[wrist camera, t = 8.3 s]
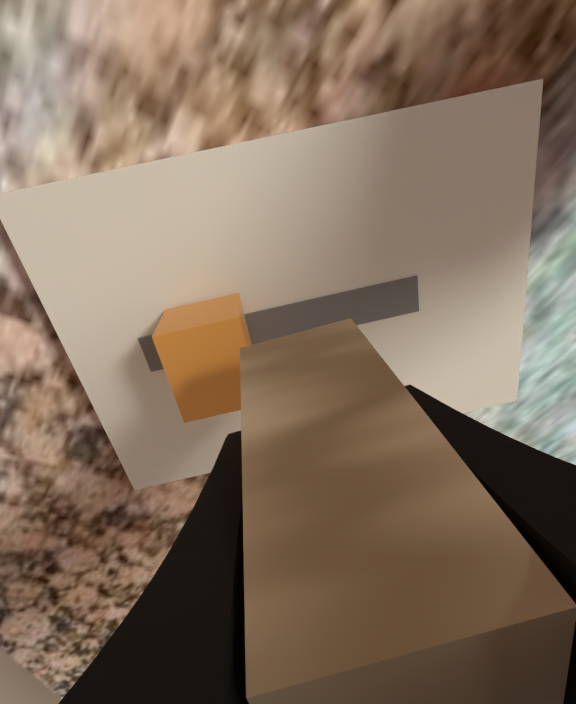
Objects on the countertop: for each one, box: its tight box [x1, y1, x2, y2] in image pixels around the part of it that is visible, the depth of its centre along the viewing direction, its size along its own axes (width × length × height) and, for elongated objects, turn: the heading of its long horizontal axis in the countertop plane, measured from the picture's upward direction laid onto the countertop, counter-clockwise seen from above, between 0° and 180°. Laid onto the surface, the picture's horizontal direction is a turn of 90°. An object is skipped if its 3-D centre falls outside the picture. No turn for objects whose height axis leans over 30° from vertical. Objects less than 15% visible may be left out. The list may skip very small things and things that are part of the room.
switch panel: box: [0, 79, 543, 490], centre depth 17 cm, size 20×14×1 cm
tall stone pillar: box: [240, 318, 576, 704], centre depth 8 cm, size 3×3×8 cm
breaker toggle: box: [152, 293, 252, 423], centre depth 15 cm, size 3×4×3 cm
